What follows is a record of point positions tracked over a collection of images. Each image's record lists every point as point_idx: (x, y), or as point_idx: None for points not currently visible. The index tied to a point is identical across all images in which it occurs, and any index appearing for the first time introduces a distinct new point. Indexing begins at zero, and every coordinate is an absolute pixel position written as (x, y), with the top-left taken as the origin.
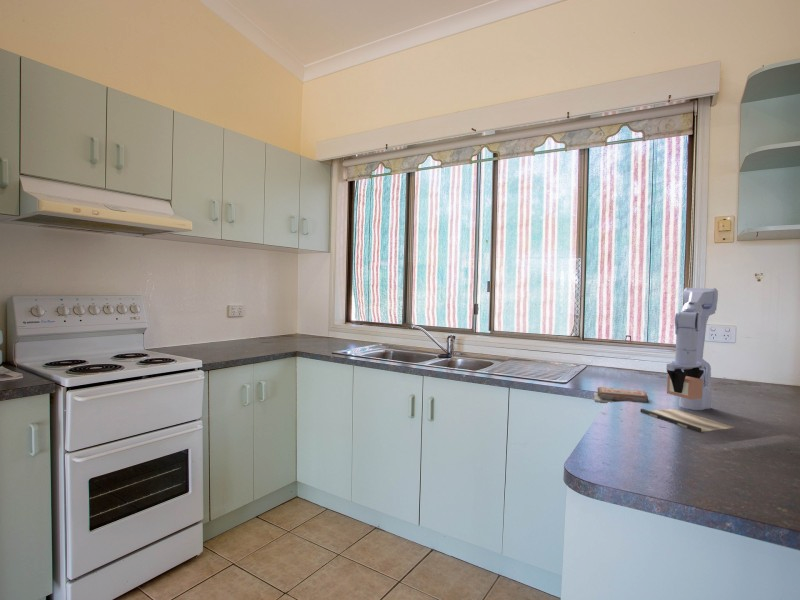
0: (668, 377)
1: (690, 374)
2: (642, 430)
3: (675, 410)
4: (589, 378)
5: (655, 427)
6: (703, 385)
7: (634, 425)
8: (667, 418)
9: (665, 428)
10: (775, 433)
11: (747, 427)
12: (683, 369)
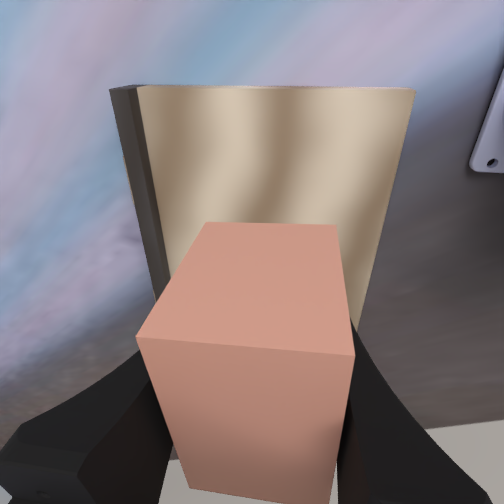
0: (150, 324)
1: (347, 480)
2: (32, 237)
3: (371, 131)
4: None
5: (101, 231)
6: None
7: (27, 187)
8: (147, 252)
9: (132, 250)
10: (474, 397)
11: (470, 344)
12: (369, 490)
